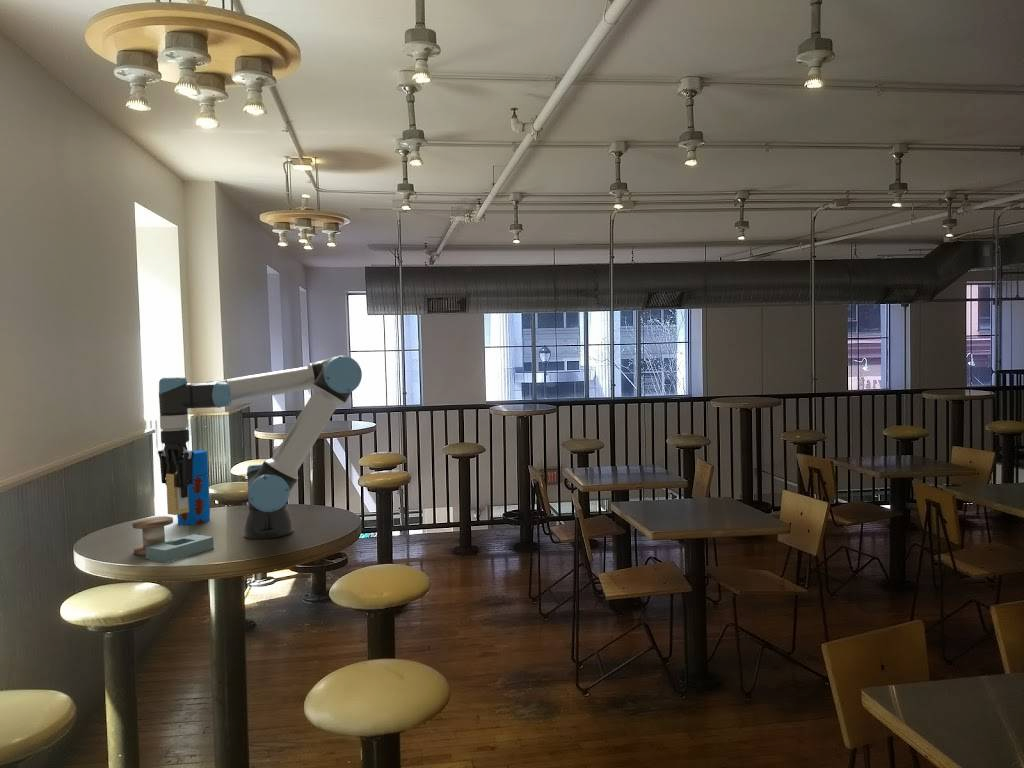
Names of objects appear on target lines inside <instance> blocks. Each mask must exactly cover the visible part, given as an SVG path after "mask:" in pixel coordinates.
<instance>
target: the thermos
mask: <svg viewBox="0 0 1024 768" xmlns="http://www.w3.org/2000/svg"><path fill="white" fill-rule="evenodd" d="M189 451H190V452H191V451H193V452H194V456H193V483H192V484H190V485H188V500H189V512H187V513H182V514H178V515H176V517H177V524H178V525H181V526H191V525H192V526H194V525H200V524H204V523H208V522H211V521H210V520H211V507H210V506H211V503H210V486H209V484H210V483H209V482H210V481H209V463H208V462H209V461H208V452H207V450H202V449H200V450H199V449H198V450H197V449H196V450H195V449H194V450H189ZM176 472H177V470H176Z"/></svg>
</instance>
